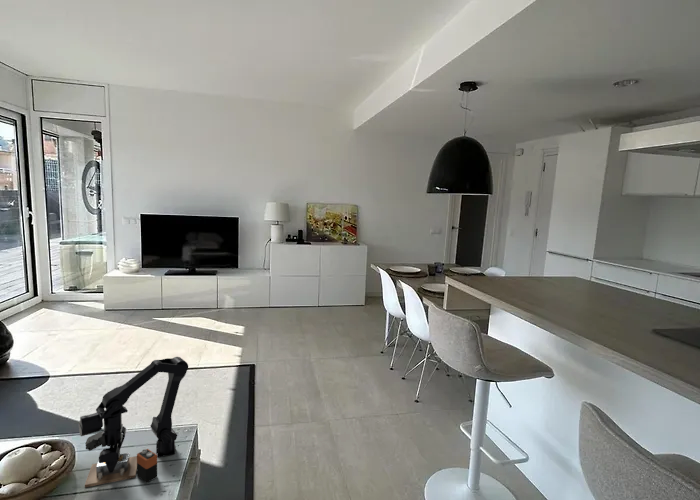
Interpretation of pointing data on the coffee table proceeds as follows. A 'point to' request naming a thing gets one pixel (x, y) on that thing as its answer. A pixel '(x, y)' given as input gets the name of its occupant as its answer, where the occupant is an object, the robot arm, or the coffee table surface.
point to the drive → (121, 463)
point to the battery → (146, 465)
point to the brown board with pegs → (94, 480)
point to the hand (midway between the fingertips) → (113, 464)
